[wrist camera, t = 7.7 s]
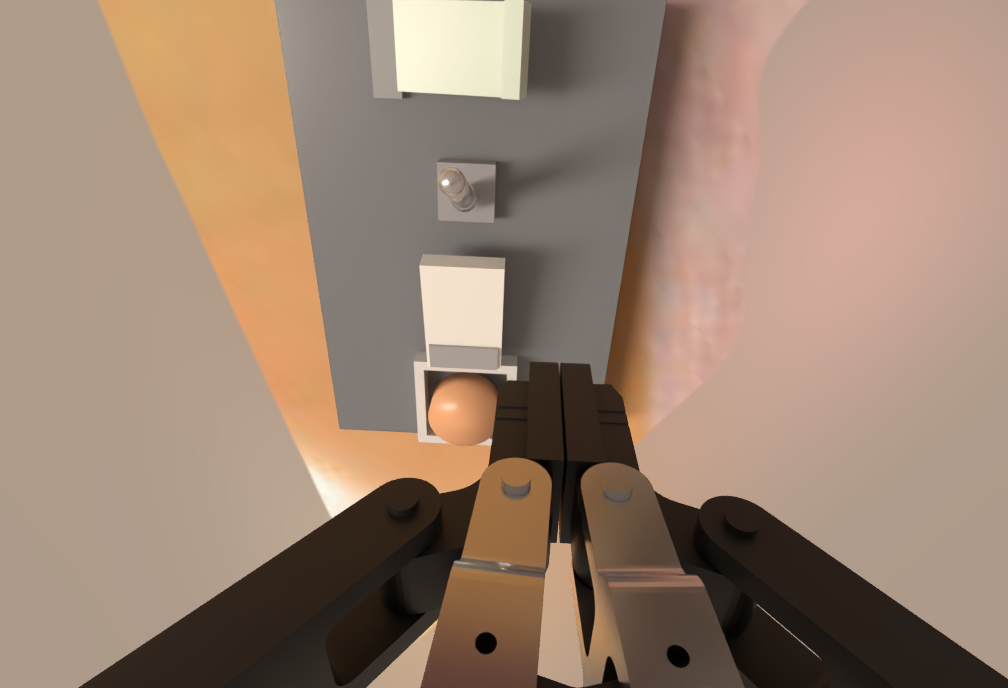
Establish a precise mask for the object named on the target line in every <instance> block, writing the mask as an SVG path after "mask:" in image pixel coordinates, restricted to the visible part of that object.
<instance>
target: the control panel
mask: <svg viewBox="0 0 1008 688" xmlns="http://www.w3.org/2000/svg"><path fill="white" fill-rule="evenodd" d="M274 1H275V7H276V14H277V21H278V27H279V34H280V40H281V47H282V53H283V60H284V67H285V73H286V80H287V86H288V93H289V99H290V106H291V113H292V119H293V126H294V132H295V139H296V145H297V152H298V158H299V165H300V172H301V178H302V185H303V191H304V198H305V204H306V211H307V218H308V224H309V231H310V237H311V244H312V250H313V257H314V263H315V270H316V277H317V283H318V290H319V296H320V303H321V309H322V316H323V323H324V329H325V336H326V342H327V349H328V355H329V362H330V369H331V375H332V382H333V388H334V395H335V401H336V408H337V414H338V421H339V428H340V429H351V430H371V431H391V432H411V433H418V442H431V443H448V442H446V441H444V440H442V439H441V438H440V437H438V436H437V435H436V434H435V433H434V431H433V430H432V428H431V426H430V424H429V420H428V412H429V408H430V404H431V401H432V397H433V393H434V390H435V387H436V386H437V384H438V383H439V382H440V381H441V380H442V379H443V378H445V377H446V376H448V375H451V374H453V373H458V372H471V373H476V374H479V375H481V376H483V377H485V378H486V379H488V380H489V381H490V382H491V383H492V384H493V385H494V386H495V387H496V389H497V391H499V390H500V389H501V388H502V387H503V385H504V384H505V383H506V382H507V381H508V380H515V381H529V366H530V361H532V362H555V363H558V364H559V370H560V363H582V364H590V367H591V373H592V379H593V384H604V383H605V377H606V371H607V365H608V359H609V353H610V346H611V340H612V334H613V328H614V322H615V316H616V309H617V303H618V297H619V291H620V285H621V279H622V273H623V266H624V260H625V254H626V248H627V242H628V236H629V229H630V223H631V217H632V211H633V205H634V199H635V193H636V186H637V180H638V174H639V168H640V162H641V156H642V149H643V143H644V137H645V131H646V125H647V119H648V112H649V106H650V100H651V94H652V88H653V82H654V76H655V69H656V63H657V57H658V51H659V45H660V39H661V32H662V26H663V20H664V14H665V8H666V2H667V0H525V1H527V2H529V3H531V4H532V7H531V25H530V44H529V62H528V81H527V98H524V99H520V100H513V99H501V97H486V96H469V95H452V94H436V93H419V92H402V91H398V88H397V71H396V54H395V36H394V19H393V2H392V0H274ZM470 1H504V0H470ZM448 167H454V168H457V169H459V170H460V171H461V172H462V173H463V175H464V176H465V178H466V180H467V182H468V183H469V185H471V186H472V187H474V188H475V190H476V191H477V194H478V203H477V205H476V207H475V208H474V209H473V210H471V211H469V212H460V211H458V210H456V209H455V208H454V207H453V205H452V203H451V200H450V199H449V198H448V197H447V196H446V195H445V194H444V193H443V192H442V191H441V190H440V188H439V186H438V176H439V174H440V172H441V171H442V170H443V169H445V168H448ZM423 254H432V255H453V256H475V257H496V258H505V279H504V305H503V331H502V357H501V371H495V370H475V369H455V368H434V367H428V366H427V353H426V341H425V329H424V316H423V304H422V292H421V280H420V267H419V265H420V262H421V259H422V256H423ZM492 436H493V435H492ZM492 436H491V437H490V438H489V439H488V440H486V441H484V442H482V443H480V444H477V445H490V446H491V444H492Z"/></svg>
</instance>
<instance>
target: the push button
mask: <svg viewBox="0 0 1008 688" xmlns="http://www.w3.org/2000/svg"><path fill="white" fill-rule="evenodd" d="M497 396H498V391H497V389H496V387H495V386H494V385H493V384H492V383H491V382H490V381H489V380H488V379H486V378H485V377H483V376H481V375H479V374H476V373H471V372H458V373H453V374H451V375H448V376H446V377H445V378H443V379H442V380H441V381H440V382H439V383H438V384H437V386H436V387H435V390H434V393H433V397H432V401H431V404H430V408H429V412H428V420H429V424H430V426H431V428H432V430H433V431H434V433H435V434H436V435H437V436H438V437H440V438H441V439H442V440H444V441H446V442H448V443H451V444H454V445H458V446H473V445H477V444H480V443H482V442H484V441H486V440H488V439H489V438H490V437H491V436H492V435H493V428H494V420H495V412H496V404H497Z"/></svg>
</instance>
